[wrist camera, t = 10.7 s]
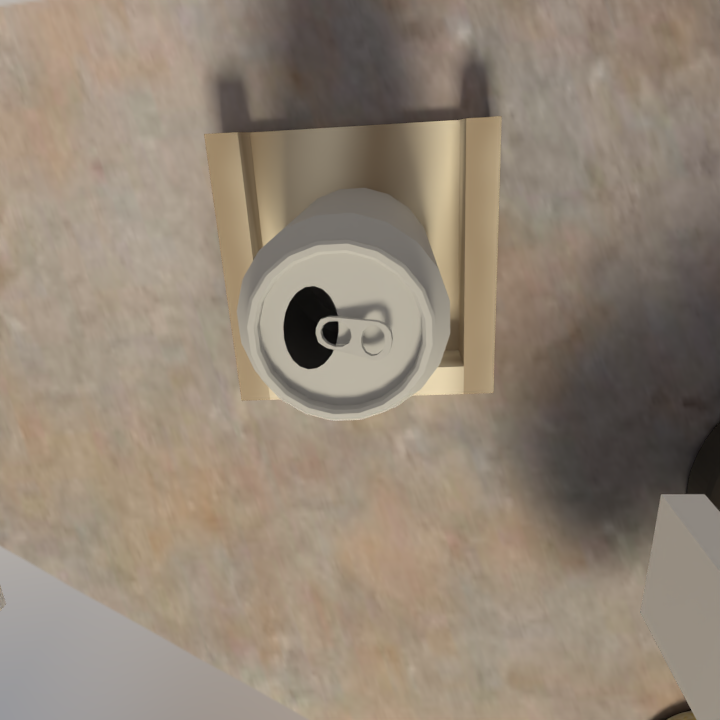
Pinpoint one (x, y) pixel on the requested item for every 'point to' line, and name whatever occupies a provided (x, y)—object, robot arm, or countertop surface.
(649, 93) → the countertop surface
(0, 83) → the countertop surface
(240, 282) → the can rest
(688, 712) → the bread roll
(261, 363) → the can
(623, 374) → the countertop surface
